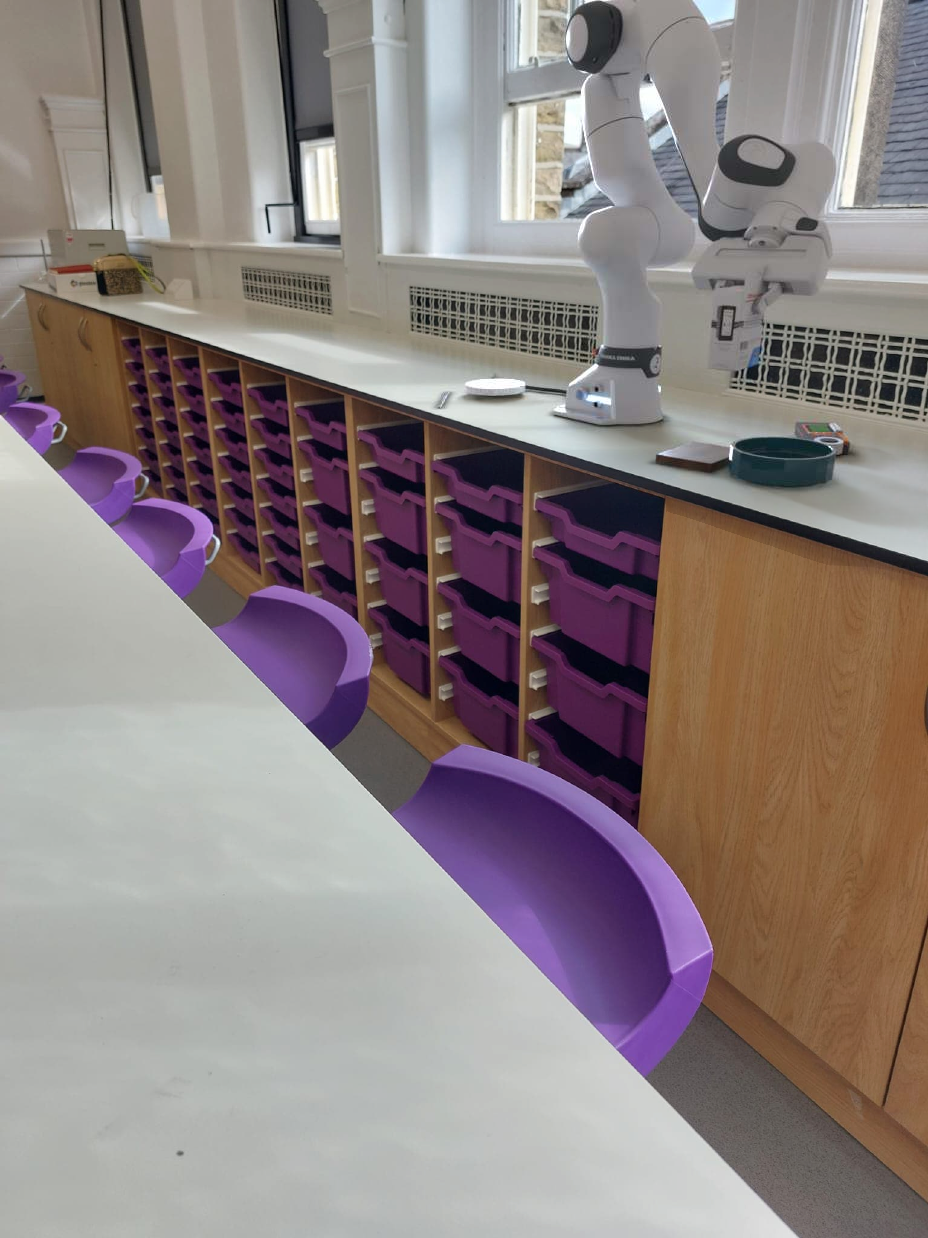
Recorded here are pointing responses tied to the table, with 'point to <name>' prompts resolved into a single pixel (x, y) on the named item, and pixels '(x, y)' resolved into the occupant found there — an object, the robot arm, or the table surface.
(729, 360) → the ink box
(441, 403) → the rod
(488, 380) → the plastic lid
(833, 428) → the electronic device
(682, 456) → the walnut board
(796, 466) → the bowl
